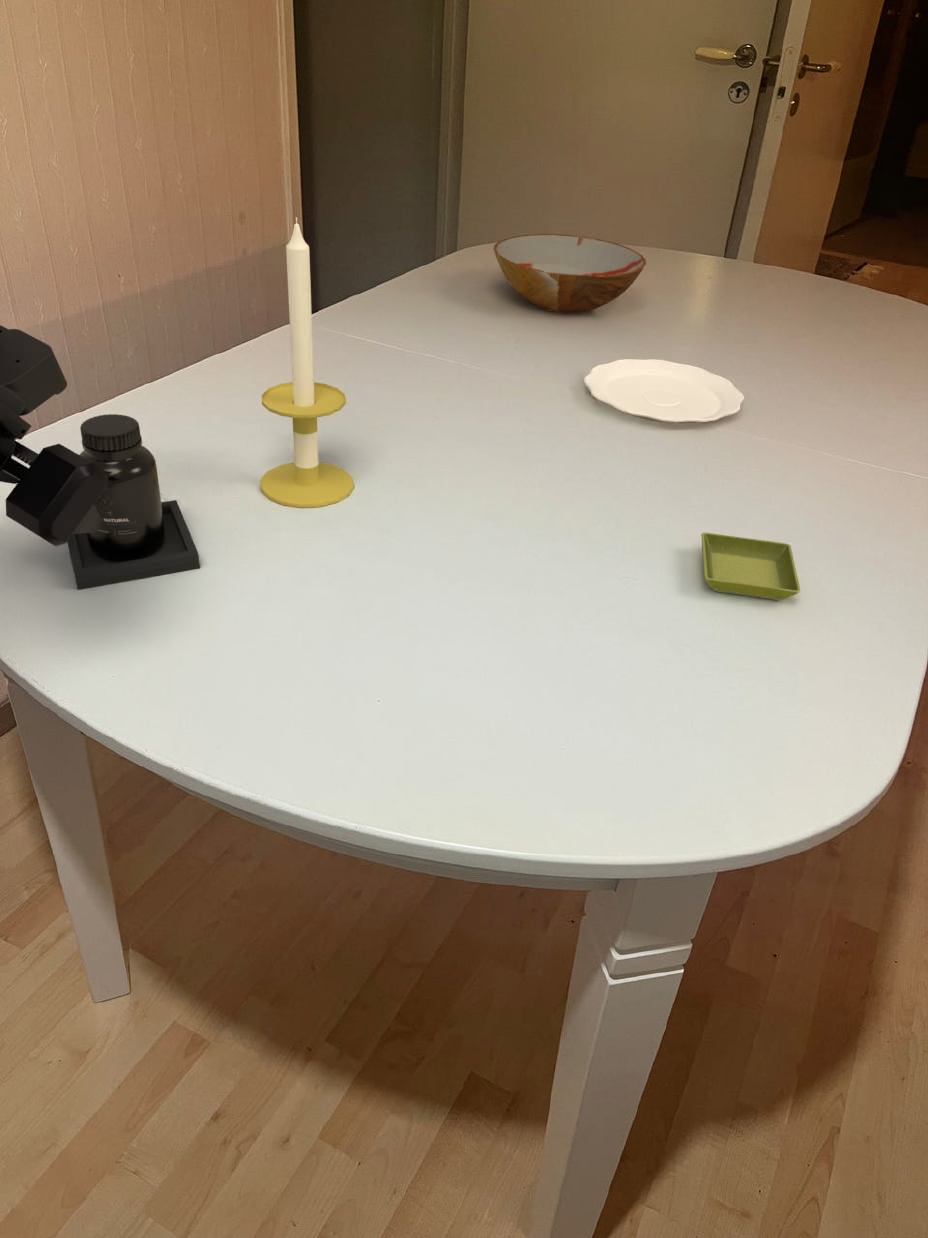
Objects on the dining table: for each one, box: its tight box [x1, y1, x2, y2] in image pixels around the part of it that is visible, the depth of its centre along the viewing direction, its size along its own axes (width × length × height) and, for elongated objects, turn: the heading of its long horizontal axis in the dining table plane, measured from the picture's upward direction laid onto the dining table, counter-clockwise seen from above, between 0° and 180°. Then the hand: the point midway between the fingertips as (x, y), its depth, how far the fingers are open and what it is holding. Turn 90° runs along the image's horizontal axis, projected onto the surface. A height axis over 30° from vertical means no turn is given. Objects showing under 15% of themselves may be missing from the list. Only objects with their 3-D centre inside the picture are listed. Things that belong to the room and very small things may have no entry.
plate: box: [583, 358, 745, 424], centre depth 124 cm, size 21×21×2 cm
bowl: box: [493, 233, 647, 314], centre depth 154 cm, size 25×25×8 cm
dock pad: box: [66, 499, 201, 590], centre depth 86 cm, size 11×11×2 cm
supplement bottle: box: [79, 413, 165, 561], centre depth 83 cm, size 7×7×12 cm
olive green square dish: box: [700, 532, 801, 601], centre depth 88 cm, size 9×9×2 cm
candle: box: [259, 216, 355, 509], centre depth 91 cm, size 10×10×27 cm
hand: (58, 501), depth 74 cm, fingers open, 9 cm apart
